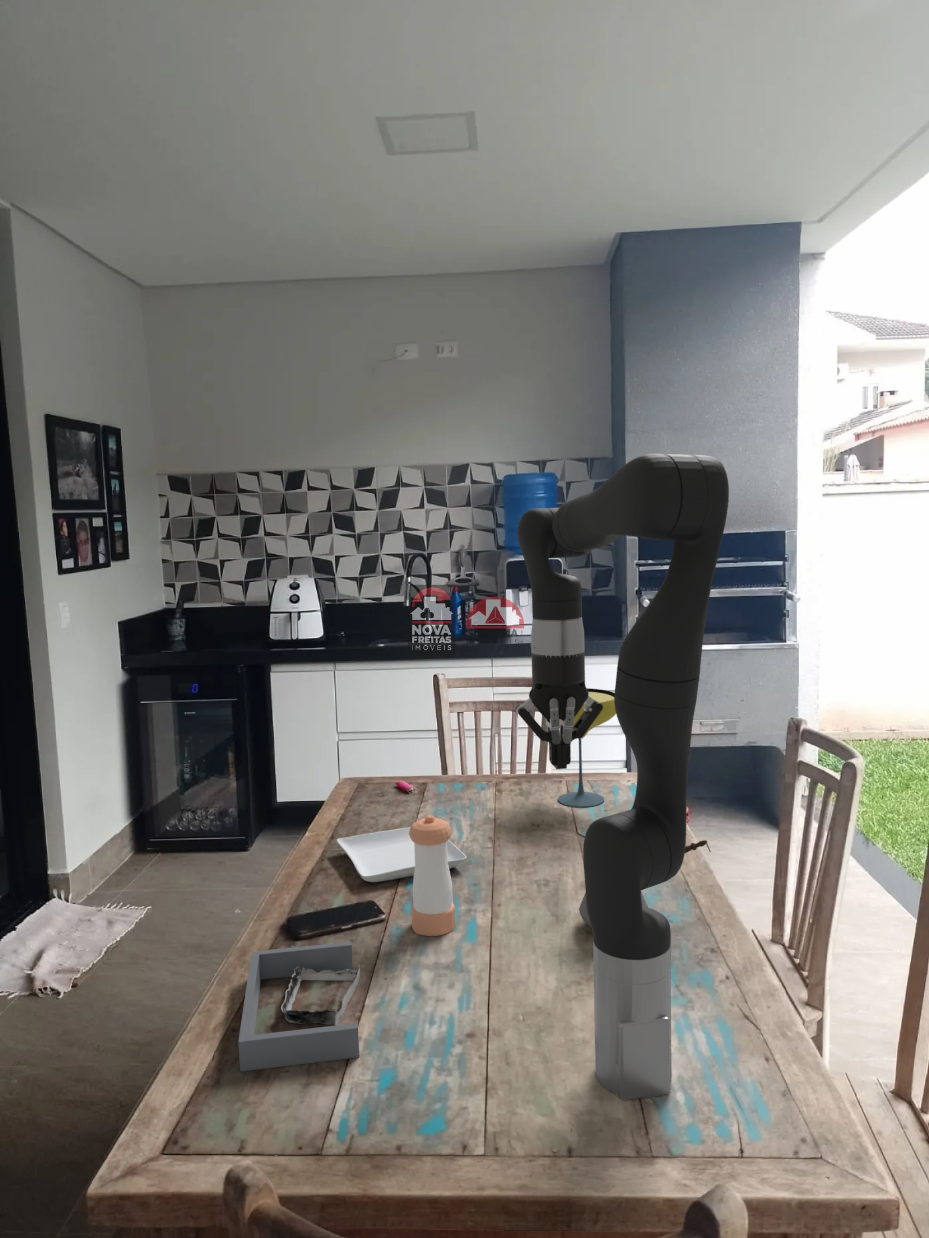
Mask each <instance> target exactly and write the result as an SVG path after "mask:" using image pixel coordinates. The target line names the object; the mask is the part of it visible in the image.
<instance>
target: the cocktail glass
mask: <svg viewBox="0 0 929 1238" xmlns="http://www.w3.org/2000/svg"><path fill="white" fill-rule="evenodd" d="M586 688H587V690H588V692H589V697H591V698H592V699H594V700H596V701H598V702H600V703H601V704H602V705H603V709H602V711H601V712H600V714H599V715H598V716H597V718H596V719H595V721H594V722H593V723H592V725H591V726H590V727H589V729H588V730H587V732H586V733H585V734H584V736H583V737H582V738H580V739H578V788H577V791H573V792H572V791H571V792H566V793H563V794H561V795H559V796H558V797H557V801H558V803H560V804H561V805H563V806H567V807H572V808H591V807H592V808H593V807H596V806H600V805H601V804H603V803H604V802H605V798H604V796H603V795H601V794H598V793H595V792H590V791H585V790H584V783H583V759H582V740H583V739H584V738H585V737H586V736H587V734H589V732H590V731H591V730H593V729H594V728H596V727H598V726H601V725H602V724H604V723H606V722H609V721H610V720H612V718H613V717H615V716H617V715H616V711H615V705H614V695H615V691H611V690H607V689H606V690H605V689H600V688H599V689H598V688H589V687H586ZM584 704H585V703H584ZM584 704H583V706H582V707H581V709H580V710H579V712H578V713H577V715H576V716H575V717H574V725H575V723H576V722H577V720H578V719H579V718H580V716H581V715H582V713H583V712H584V711H585V710H584V708H583V707H584ZM559 724H560V723H559ZM574 725H573V726H574Z"/></svg>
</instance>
